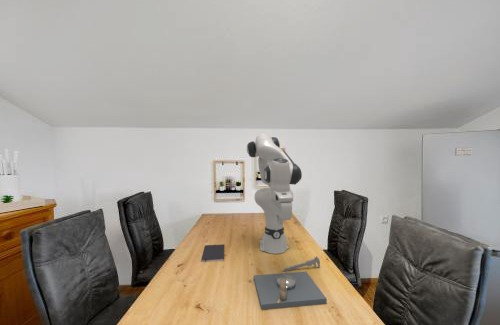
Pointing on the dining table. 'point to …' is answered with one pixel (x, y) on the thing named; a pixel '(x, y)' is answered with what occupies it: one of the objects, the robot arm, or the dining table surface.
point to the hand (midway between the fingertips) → (279, 223)
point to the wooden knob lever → (285, 285)
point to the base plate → (288, 291)
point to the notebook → (213, 253)
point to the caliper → (304, 264)
